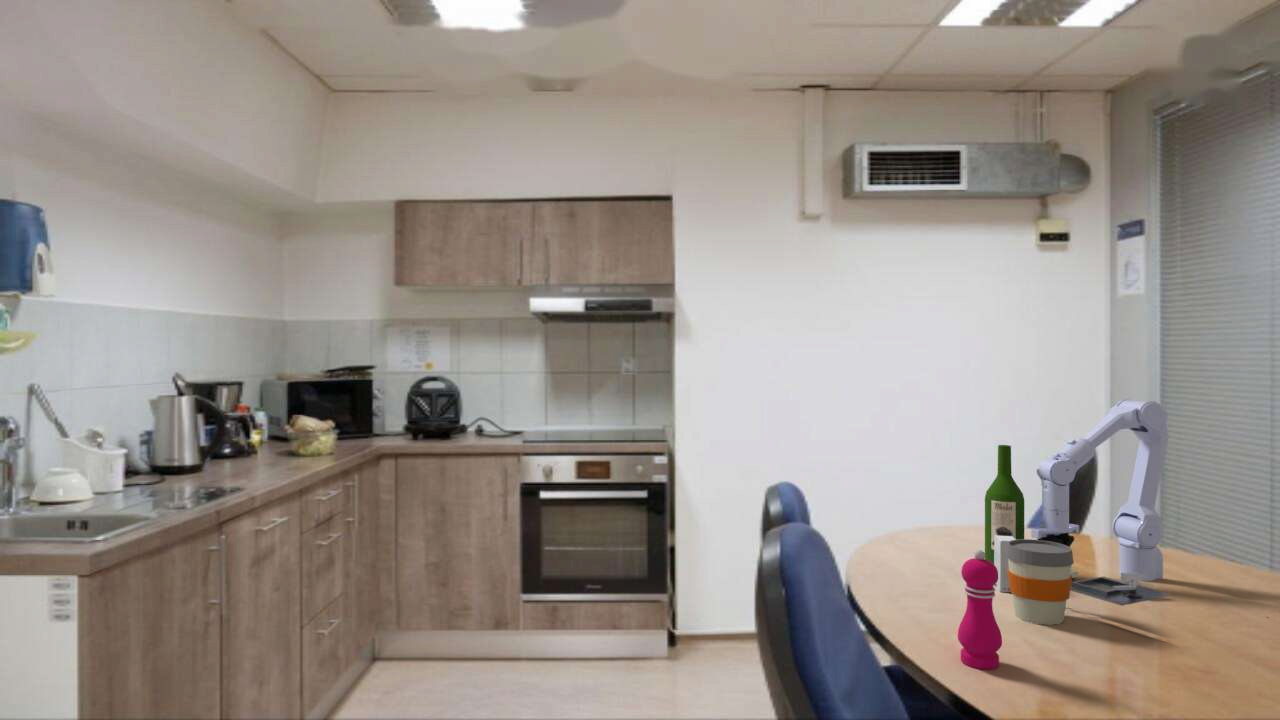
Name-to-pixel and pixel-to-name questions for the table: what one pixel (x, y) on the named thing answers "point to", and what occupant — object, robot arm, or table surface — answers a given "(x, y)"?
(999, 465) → the wine bottle
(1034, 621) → the reusable coffee cup
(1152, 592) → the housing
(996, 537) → the skincare box
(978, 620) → the pepper mill
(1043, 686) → the table surface
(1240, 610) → the table surface
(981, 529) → the table surface
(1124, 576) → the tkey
